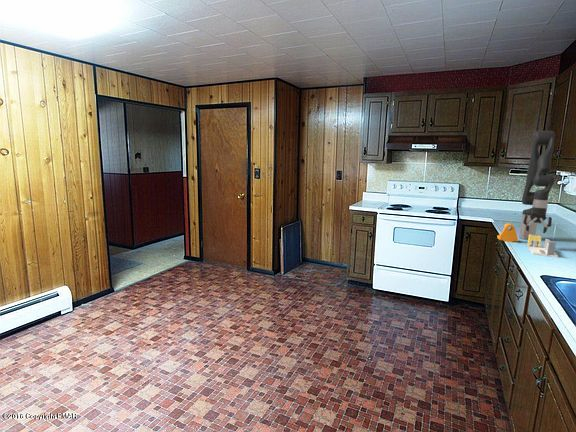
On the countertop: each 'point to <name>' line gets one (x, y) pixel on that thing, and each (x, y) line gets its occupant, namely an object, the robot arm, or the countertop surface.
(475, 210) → the countertop surface
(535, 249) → the rail plate
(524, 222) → the robot arm
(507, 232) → the bracket
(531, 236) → the yellow block
